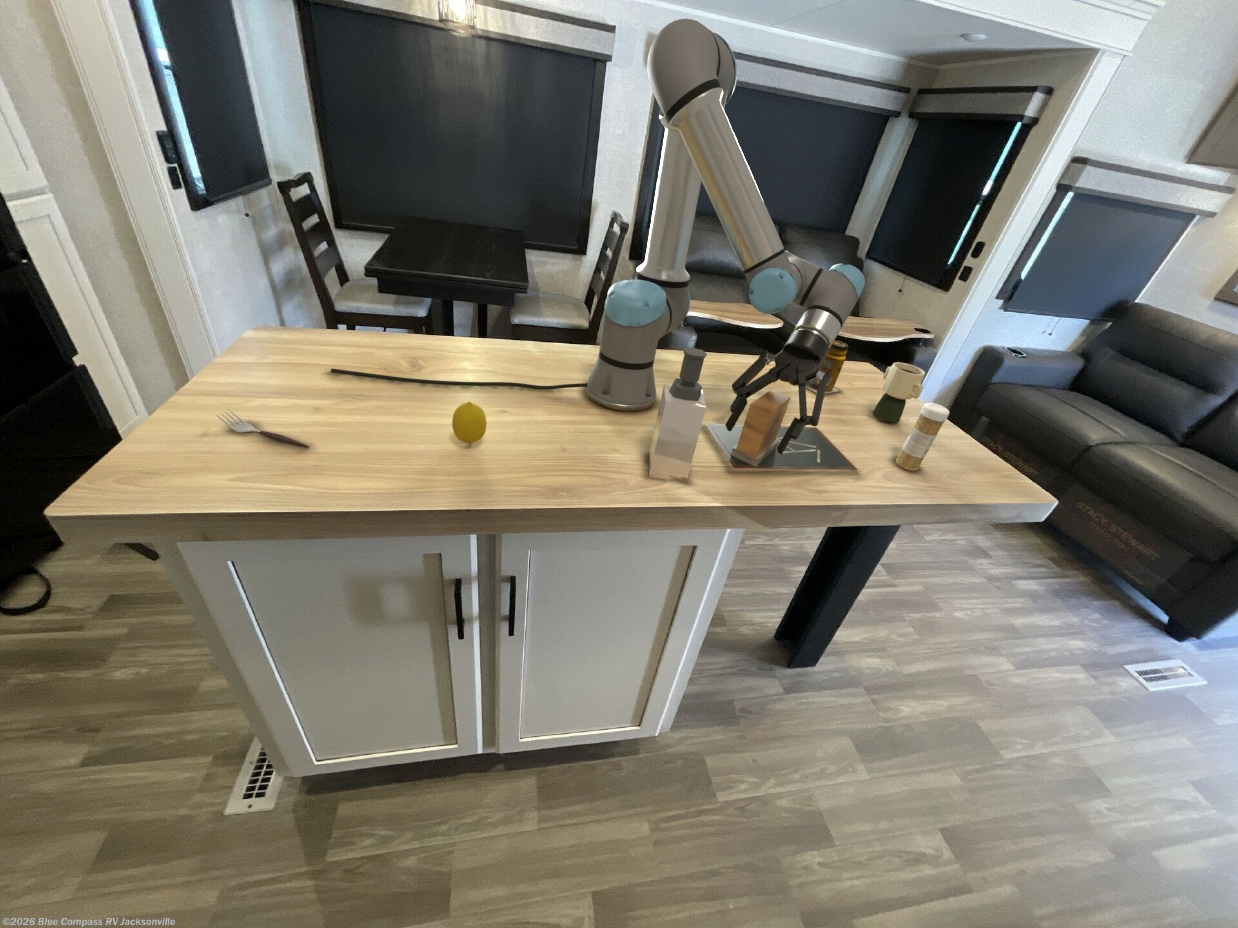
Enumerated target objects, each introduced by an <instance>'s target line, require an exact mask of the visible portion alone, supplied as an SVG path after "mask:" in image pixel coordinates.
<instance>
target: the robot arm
mask: <svg viewBox="0 0 1238 928" xmlns="http://www.w3.org/2000/svg"><path fill="white" fill-rule="evenodd" d="M646 63H647V64H646V67H647V68H646V69H647V78H648V83H649V86H650V90H651V91H652V94H653V96H654V98H655V100H656V102H657V104H658V106H659V114H658V119H659V120H660V122H661V124H662V126H663V127H664V128H663V129H664V135H663V141H662V148H661V156H660V161H659V167H658V175H657V181H656V186H655V194H654V201H653V208H652V213H651V219H650V227H649V232H648V238H647V239H648V240H647V245H646V246H647V247H646V252H645V258H644V261H643V262H642V263H641V264H639V265H638V266H637V267H636V270H635V277H634V279H630V280H628V279H623V280H620V281H617V282H615V283H613V284H612V285H611V286H610V287H609V289H608V291H607V295H606V299H605V302H604V312H603V320H602V327H601V335H600V343H599V351H598V357H597V360H596V362H595V364H594V366H593V368H592V370H591V372H590V374H589V376H588V378H587V381H586V382H579V383H565V384H555V385H539V384H538V385H537V384H530V383H521V382H512V381H511V382H509V381H455V380H436V379H424V378H423V379H422V378H411V377H403V376H394V375H386V374H378V373H370V372H361V371H354V370H347V369H341V368H340V369H338V368H331V369H330V373H333V374H340V375H341V374H342V375H349V376H356V377H363V378H372V379H378V380H388V381H393V382H394V381H396V382H404V383H413V384H414V383H415V384H424V385H425V384H426V385H440V386H442V385H443V386H465V387H466V386H469V387H515V388H516V387H517V388H525V389H533V390H544V391H545V390H547V391H548V390H560V389H571V388H573V389H574V388H585V394H586V396H587V398H588V399H590V400H591V401H592V402H593V403H595V404H597V405H599V406H600V407H604V408H607V409H609V410H613V411H617V412H618V411H619V412H640V411H644V410H647V409H650V408H651V407H652V406H653V405H654V404H655V403H656V402H655V401H656V397H657V388H656V379H655V374H654V373H655V372H654V364H655V358H656V353H657V349H658V344H659V340H660V339H661V338H663V337H664V336H666V335H667V334H669V333H670V332H672V331H674V330H676V329H677V328H678V327H679V326H680V325H681V324H682V323H683V322H684V320H685V318H687V315H688V314H689V312H690V311H689V310H690V307H691V295H690V292H689V290H688V288H689V286H690V285H689V284H690V279H691V276H690V274H689V272H688V271H687V270H686V264H687V258H688V252H689V247H690V243H691V239H692V238H691V237H692V232H693V228H694V222H695V217H696V212H697V207H698V201H699V198H700V197H699V196H700V191H701V185H703V188H704V190H705V191H706V194H707V196H708V199H709V200H710V202H711V204H712V207H713V209H714V211H715V213H716V216H717V217H718V220H719V222H720V224H721V226H722V228H723V230H724V233H725V235H726V237H727V239H728V241H729V243H730V245H731V248H732V250H733V252H734V255H735V256H736V259H737V261H738V263H739V265H740V267H741V270H742V272H743V274H744V276H745V279H746V281H747V283H748V286H749V287H748V300H749V302H750V304H751V305H752V307H753V308H754V309H755V310H756V311H757V312H759V313H762V314H766V315H774V314H778V313H780V312H782V311H784V310H785V309H787V308H788V307H789V306H790V305H792V304H793V303H795V304H797V305H799V306H801V307H803V308H805V310H804V312H803V313H802V315H801V317H800V318H799V320H798V322H797V323H796V325H795V327H794V329H793V331H792V332H791V334H790V336H789V337H788V339H787V341H786V342H785V344H784V345H783V347H782V349H781V351H780V352H778V353H777V354H775V353H771V352H769V350H768V349H767V348H763V349H762V350H761V352H760V354H759V356H758V358H757V359H756V360H755V361H754V362H753V363H752V364H751V365H750V366H749V367H748V368H747V369H746V370H745V371H744V372H743V373H742V374H741V375H739V377H737V379H735V381H734V382H733V383H732V384H731V389H732V392H733V394H734V395H736V396H735V398H734V400H733V402H732V403H731V405H730V407H729V410H730V412H731V414H730V416H729V418H728V420H726V422H725V425H726V428H727V430H728V431H730V432H731V430H732V429H733V427H734V425H737V422H738V420H739V419H740V417H741V415H742V413H743V411H745V408H746V407H747V405H748V398H750V397H751V396H753V395H754V394H757V393H758V392H759V391H762V390H763V389H764V388H766V387H767V386H769V385H770V384H773V383H776V382H778V381H780V382H784V383H788V384H790V385H791V386H793V387H796V386H797V387H798V407H799V418H798V417H796V416H794V418H793V419H792V421H791V422H790V425H788V427H789V428H788V430H787V432H786V433H785V435H784V437H783V439H782V440H781V442H780V444H779V446H778V447H777V449H778V453H779V454H781V455H782V453H783V452H784V450H785V448H786V446H787V445H788V443H789V441H790V439H791V438H792V439H795V440H796V439H797V438H798V437H799V435H800V433H801V432H802V430H803V428H804V427H807V426H811V427H817V426H818V425H819V423H820V418H821V412H822V409H823V404H824V400H825V399H824V398H825V395H826V394H825V390H826V389H827V387H828V386H829V384H830V383H831V377H832V374H831V373H830V372H827V373H823V372H821V371H819V366H820V365H821V363H822V361H823V359H824V358H825V356H826V354H827V352H828V351H829V348H830V347H831V345H832V344H833V342H834V340H837V337H838V335H839V333H840V331H841V329H842V328H843V326H844V324H845V323H846V321H847V320H848V317H849V316H850V314H851V313H852V311H853V310H854V308H855V306H856V304H857V302H858V301H859V298H860V296H861V295H862V292H863V291H864V288H865V284H866V280H865V276H864V274H863V273H862V272H861V270H860V269H859V268H857V267H856V266H854V265H852V264H844V263H837V264H833V265H832V266H831V267H830V268H829V269H825V268H822V267H819V266H817V265H815V264H813V263H811V262H808V261H807V260H805V259H803V258H801V257H799V256H797V255H795V254H793V253H791V252H790V251H788V250H785V247H784V245H783V243H782V240H781V238H780V236H779V233H778V231H777V229H776V226H775V224H774V222H773V220H772V218H771V215H770V213H769V210H768V208H767V206H766V204H765V201H764V199H763V197H762V195H761V192H760V190H759V188H758V185H757V182H756V180H755V179H754V178H755V177H754V176H753V174H752V171H751V169H750V166H749V165H748V162H747V160H746V157H745V156H744V153H743V151H742V148H741V146H740V144H739V142H738V139H737V137H736V135H735V132H734V130H733V128H732V125H731V123H730V122H729V121H730V120H729V118H728V116H727V114H726V112H725V106H726V105H727V104H728V102H729V101H730V99H731V98H732V96H733V94H734V92H735V88H736V85H737V80H738V64H737V60H736V56H735V54H734V51H733V50H732V48H731V46H730V45H729V43H728V42H727V41H726V39H725V38H724V37H722V35H720V34H718V33H716V32H713V31H712V30H710V29H709V28H708V27H706V25H705V24H703V23H701V22H699V21H698V20H695V19H693V18H679V19H675V20H673V21H671V22H669V23H668V24H666V25H665V26H664V27H662V29H660V31H658V34H657V35H656V36H655V37H654V39H653V41H652V43H651V46H650V48H649V52H648V56H647V62H646ZM772 362H773V363H774V365H775V366H773V367H770V369H769V370H768V371H767V372H765V373H763V374H762V375H761V376H759V377H758V378H756V376H758V374H760V373H761V372H762V371H763V370H764V369H765V368H766V366H768V365H770V364H771V363H772ZM815 377H817V378H818V379H817V383H818V384H819V386H818V390H817V393H816V395H815V399H814V404H813V409H812V413H811V415H808V408H807V406H808V405H807V388H806V385H805V382H807V381H809V380H811V379H813V378H815ZM755 378H756V379H755ZM753 379H754V380H753ZM752 380H753V381H752Z"/></svg>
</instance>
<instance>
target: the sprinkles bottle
mask: <svg viewBox="0 0 1238 928" xmlns="http://www.w3.org/2000/svg"><path fill="white" fill-rule="evenodd" d="M949 416H950V410H949V409H948V408H947V407H945V406H943V405H941V404H938V403H935V402H926V403H924V405H923V406H922V408H921V410H920V413H919V416H918V418H917V420H916V422H915V424H914V426H913V427H912V429H911V431H910V433H909V434H908V437H907V438H906V440H905V442H904V444H903V446H902V449H901V450H900V452H899V455H898V456H897V457H896V459H895V463H896V465H897V466H898V467H900V468H902V469H904V470H907V471H910V472H917V471H918V470H919V469H920V466H921V464H922V463H923V461H924V459H925V458H926V456H927V454H928V452H929V451H930V449H931V447H932V446H933V443H934V441H935V440H936V437H937V436H938V435H939V432H940V429H941V428H942V426H943V425H944V423H945V422H946V421H947V419H948V417H949Z"/></svg>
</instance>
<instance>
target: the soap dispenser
mask: <svg viewBox="0 0 1238 928" xmlns="http://www.w3.org/2000/svg"><path fill="white" fill-rule="evenodd" d="M683 354H684V355H683V359H682V363H681V367H680V371H679V377H678V378H677V377H676V378H675V379H674V380H673V382H672V384H671V385H670V384H663V387H662V393H661V397H660V401H659V406H658V410H657V415H656V419H655V425H654V431H653V434H652V439H651V444H650V448H649V465H648V478H654V479H660V480H668V481H673V482H679V480H678V479H676V478H674V477H678V478H685V479H687V478H689V474H690V469H691V467H692V462H693V460H694V457H695V456H694V455H695V452H696V448H697V445H698V441H699V437H700V433H701V429H702V425H703V422H704V418H705V414H706V410H707V404H706V400H705V396H704V392H703V390H702V389H703V388H702V387H703V386H702V385H701V384H700V383H699V381H700V377H701V373H702V369H703V364H704V361H705V358H706V357H707V356H708V355H707V354H708V353H707V352H706V351H704V350H703V349H699V348H697V347H696V348H695V347H690V346H685V348H684V349H683Z"/></svg>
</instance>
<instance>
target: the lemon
mask: <svg viewBox="0 0 1238 928" xmlns="http://www.w3.org/2000/svg"><path fill="white" fill-rule="evenodd" d="M451 425H452V426H451V427H452V431H453V434H454V436H455V437H456V438H457V439H458V440H459V441H460V442H462V443H466V444H467V445H472V444H473V443H477V442H479V441H480V440H482V438H483V437H484V435H485V433H486V430H487V425H488V423H487V417H486V413H485V411H484V409H483V408H482V407H481V406H480V405H478V404H476V403H475V402H472V401H467V402H464V403H461V404H460V405H459V406H457V407H456V409H455V410H454V412H453V415H452V421H451Z"/></svg>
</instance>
